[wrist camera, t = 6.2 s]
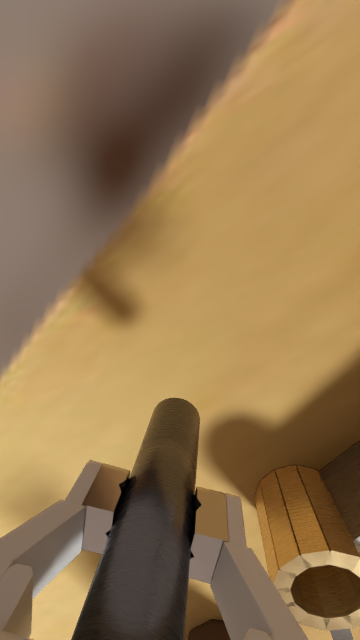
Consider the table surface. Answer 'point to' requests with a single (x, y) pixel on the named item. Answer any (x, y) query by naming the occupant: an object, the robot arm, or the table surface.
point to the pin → (149, 538)
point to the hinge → (315, 541)
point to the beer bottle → (210, 631)
